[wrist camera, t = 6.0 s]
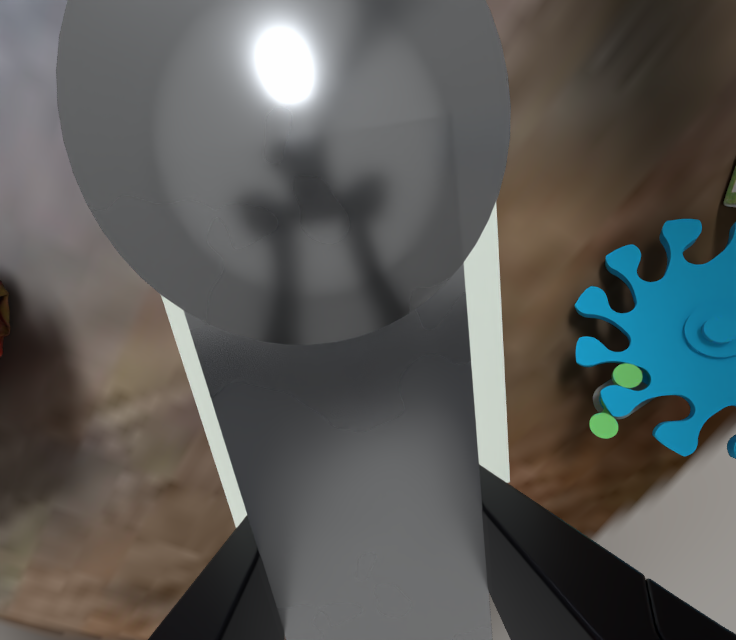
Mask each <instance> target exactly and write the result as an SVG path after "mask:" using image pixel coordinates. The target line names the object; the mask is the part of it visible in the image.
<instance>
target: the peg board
mask: <svg viewBox="0 0 736 640" xmlns="http://www.w3.org/2000/svg"><path fill="white" fill-rule="evenodd" d="M464 275H465V288H466V301H467V314H468V327H469V340H470V353H471V366H472V379H473V392H474V405H475V418H476V431H477V444H478V457H479V464H480V465H481V466H483V467H484V468H486V469H487V470H489V471H490V472H491V473H493V474H494V475H496V476H497V477H499V478H500V479H502V480H503V481H505V482H506V483H508V482H510V473H509V453H508V433H507V412H506V392H505V372H504V352H503V331H502V311H501V291H500V270H499V250H498V230H497V210H496V203H495V205H494V208H493V210H492V213H491V216H490V218H489V221H488V222H487V224H486V226H485V228H484V230H483V232H482V234H481V236H480V238H479V240H478V242H477V243H476V245H475V247H474V248H473V249H472V251H471V252H470V254H469V255H468V257H467V258H466V260H465V261H464ZM161 297H162V300H163V303H164V306H165V309H166V312H167V315H168V318H169V321H170V325H171V328H172V331H173V334H174V337H175V340H176V343H177V346H178V349H179V352H180V355H181V359H182V362H183V365H184V368H185V371H186V374H187V377H188V380H189V383H190V386H191V389H192V393H193V396H194V399H195V402H196V405H197V408H198V411H199V414H200V417H201V420H202V423H203V427H204V430H205V433H206V436H207V439H208V442H209V445H210V448H211V451H212V454H213V457H214V461H215V464H216V467H217V470H218V473H219V476H220V479H221V482H222V485H223V488H224V491H225V494H226V498H227V501H228V504H229V507H230V510H231V513H232V516H233V519H234V522H235V525H236V528H237V527H238V526H239V524H240V523H241V522H242V521H243V519H244V518H245V517H246V516H247V512H246V509H245V506H244V503H243V500H242V496H241V493H240V490H239V487H238V484H237V480H236V477H235V474H234V471H233V468H232V464H231V461H230V458H229V455H228V452H227V448H226V445H225V442H224V439H223V436H222V432H221V429H220V426H219V423H218V420H217V416H216V413H215V410H214V407H213V403H212V400H211V397H210V394H209V391H208V387H207V384H206V381H205V378H204V375H203V371H202V368H201V365H200V362H199V359H198V355H197V352H196V349H195V346H194V343H193V339H192V336H191V333H190V330H189V327H188V323H187V320H186V317H185V314H184V311H183V310H182V309H181V308H179V307H178V306H176V305H175V304H173V303H172V302H170V301H169V300H168V299H166V298H165V297H163V296H162V295H161Z"/></svg>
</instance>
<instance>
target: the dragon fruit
mask: <svg viewBox="0 0 736 640" xmlns="http://www.w3.org/2000/svg"><path fill="white" fill-rule="evenodd" d="M8 296H9V293H8V291H7V290H6V289H5V288H4V285H3V283H2V282H1V281H0V357H1V356H2V353H3V350H2V348H3V338H4V336H8V335H9V333H10V324H9V315H10V311H9V304H8Z"/></svg>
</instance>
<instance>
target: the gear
mask: <svg viewBox="0 0 736 640" xmlns="http://www.w3.org/2000/svg"><path fill="white" fill-rule="evenodd" d="M701 231H702V224H701V222H700V220H696V219H677V220H670V221H666V222H665V224H664V225H663V228H662V230H661V233H660V242H661V244H662V245H663V246H664V248H665V251H666V253H667V259H668V260H667V268H666V271H665V274H664V277H663V278H662V279H660V280H658V281H655V282H647V281H644V280H642V279H640V278H639V276H638V275H637V268H638V265H639V262H640V259H641V252H640V250H639V249H638V247H636V246H635V245H633V244H631V245H626V246H623V247H621V248H618V249H616V250H615V251H613V252H611V253H610V254H608V255H606V260H605V266H606V269H607V270H608V271H609V272H610V273H611V274H613V275H615V276H617V277H618V278H620V279H621V280H622V281H623V282H624V283H625V284H626V285H627V286H628V288H629V289H630V291H631V294H632V296H633V300H634V303H635V308H634V309H633V310H632V311H630V312H628V313H617V312H615V311H613V310H612V309H611V308H610V306H609V303H608V299H607V296H606V294H605V292H604V291H603V290H602V289H600V288H598V287H595V286H590V287H589V288H587V289H586V290H585V291H584V292H583V293H582V295H581V296H580V297H579V299H578V301H577V302H576V304H575V309H576V311H577V312H578V313H579V314H580V315H582V316H583V317H587V318H596V319H601V320H604V321H606V322H609V323H610V324H612V325H614V326H615V327H616V328H618V329H619V330H620V331H621V332H622V333H623V334H625V335H626V336H627V338H628V340H629V347H628V348H627V349H626V350H624V351H622V352H613V351H610V350H609V349H607V348H606V347H605V346H604V345H603V344H602V343H601V342H600V341H598V340H597V339H595V338H593V337H588V336H585V337H580V338H579V339H578V342H577V345H576V362H577V364H579V365H580V366H583V367H593V366H596V365H599V364H604V363H620V365H619V366H617V367H616V368H615V369H614V371H613V373H612V378H611V379H610V380H608V381H607V382H606V383H604V384H603V385H601V386H600V387H598V388H597V389H596V391H595V393H594V395H593V404H594V406H595V408H596V410H597V411H598V412H599V413H596V414H594V415H593V416H592V417H591V419H590V429H591V431H592V432H593V433H594V434H595V435H596V436H598V437H600V438H605V439H607V438H611V437H613V436H615V435H616V434H617V432H618V423H617V421H616V420H615V419H623V418H626V417H628V416H629V415H631V414H632V413H633V412H635V411H636V410H638V409H639V408H641V407H642V406H644V405H645V404H647V403H648V402H650V401H651V400H653V399H655V398H656V397H658V396H666V395H677V396H680V397H682V398H684V399H685V400H686V401H687V402H688V403H689V405H690V408H691V411H690V414H689V416H688V417H686V418H685V419H683V420H678V421H666V422H662V423H659V424H658V425H656V427H655V428H654V429H653V432H652V435H653V436H654V437H655V438H656V440H658V441H659V442H660V443H661V444H663V445H664V446H666V447H667V448H669V449H671V450H673V451H675V452H676V453H678V454H680V455H682V456H688V455H690V454H692V453H693V452H694V451H695V450H696V448H697V445H698V436H699V432H700V430H701V428H702V426H703V424H704V423H705V422H706V421H707V420H708V418H710V417H711V416H712V415H714V414H715V413H717V412H718V411H720V410H721V409H723V408H725V407H727V406H735V407H736V222H735V223H734V224H733V226H732V227H731V228H730V231H729V239H728V243H727V245H726V247H725V249H724V251H722V252H721V253H720V254H719V255H718V256H716V257H715V258H714V259H712V260H711V261H709V262H708V263H705V264H701V265H695V264H691V263H689V262H687V261H686V260H685V259H684V257H683V252H684V251H685V250H686V249H687V248H689V247H690V246H691V245H692V244H694V242H695V241H696V239H697V238H698V236H699V235H700V233H701ZM727 450H728V453H729V455H730V456H731V457H733V458H735V459H736V435H734V436H733V437H731V438H730V440H729V441H728V444H727Z"/></svg>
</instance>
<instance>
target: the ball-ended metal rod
mask: <svg viewBox="0 0 736 640" xmlns="http://www.w3.org/2000/svg"><path fill="white" fill-rule="evenodd" d="M56 78H57V103H58V111H59V117H60V123H61V129H62V135H63V140H64V144H65V147H66V150H67V154H68V157H69V160H70V164H71V167H72V171H73V173H74V176H75V178H76V180H77V183H78V185H79V187H80V190H81V192H82V194H83V197H84V199H85V201H86V203H87V205H88V207H89V209H90V210H91V212H92V214H93V216H94V217H95V219H96V221H97V222H98V224H99V226H100V228H101V229H102V231H103V232H104V234H105V235H106V236H107V238H108V239H109V240H110V242H111V243H112V245H113V246H114V247H115V249H116V250H117V251H118V253H119V254H120V255H121V256H122V258H123V259H124V260H125V261H126V262H127V263H128V264H129V265H130V266H131V267H132V268H133V269H134V270H135V272H136V273H137V274H138V275H139V276H140V277H141V278H142V279H143V280H145V281H146V282H147V283H148V284H149V285H150V286H152V287H153V288H154V289H155V290H156V291H157V292H158V293H160V294H161V295H162V296H163V297H165V298H166V299H168V300H169V301H170V302H172V303H173V304H175V305H176V306H178V307H179V308H181V309H182V310H183V311H184V314H185V317H186V320H187V323H188V327H189V330H190V333H191V336H192V339H193V343H194V346H195V349H196V352H197V355H198V359H199V362H200V365H201V368H202V371H203V375H204V378H205V381H206V384H207V387H208V391H209V394H210V397H211V400H212V403H213V407H214V410H215V413H216V416H217V420H218V423H219V426H220V429H221V432H222V436H223V439H224V442H225V445H226V448H227V452H228V455H229V458H230V461H231V464H232V468H233V471H234V474H235V477H236V480H237V484H238V487H239V490H240V493H241V496H242V500H243V503H244V506H245V509H246V512H247V516H248V519H249V522H250V525H251V529H252V532H253V535H254V538H255V541H256V545H257V548H258V551H259V554H260V555H261V558H262V561H263V564H264V568H265V571H266V574H267V577H268V581H269V584H270V587H271V590H272V593H273V597H274V600H275V603H276V606H277V609H278V613H279V616H280V619H281V622H282V626H283V629H284V632H285V638H286V640H492V627H491V614H490V601H489V590H488V584H487V571H486V558H485V545H484V532H483V519H482V497H481V484H480V471H479V457H478V444H477V431H476V418H475V405H474V392H473V379H472V366H471V353H470V340H469V327H468V314H467V301H466V288H465V275H464V261H465V260H466V258H467V257H468V255H469V254H470V252H471V251H472V249H473V248H474V247H475V245H476V243H477V242H478V240H479V238H480V236H481V234H482V232H483V230H484V228H485V226H486V224H487V222H488V221H489V218H490V216H491V213H492V210H493V208H494V205H495V203H496V200H497V197H498V195H499V191H500V187H501V183H502V179H503V175H504V172H505V168H506V162H507V154H508V147H509V140H510V110H511V105H510V94H509V84H508V74H507V69H506V64H505V60H504V55H503V50H502V45H501V41H500V38H499V35H498V32H497V29H496V26H495V23H494V20H493V18H492V15H491V12H490V9H489V7H488V5H487V3H486V1H485V0H68V1H67V5H66V9H65V13H64V18H63V22H62V26H61V31H60V35H59V45H58V56H57V67H56Z"/></svg>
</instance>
